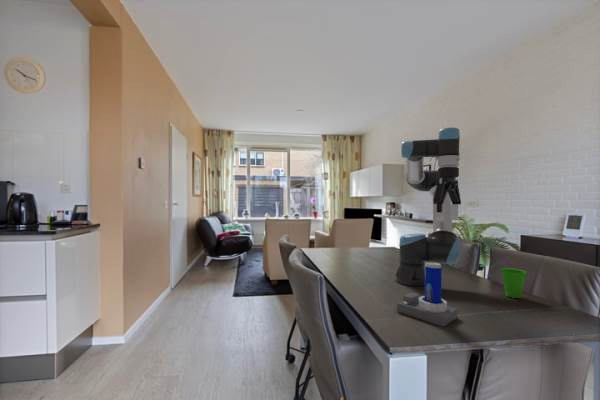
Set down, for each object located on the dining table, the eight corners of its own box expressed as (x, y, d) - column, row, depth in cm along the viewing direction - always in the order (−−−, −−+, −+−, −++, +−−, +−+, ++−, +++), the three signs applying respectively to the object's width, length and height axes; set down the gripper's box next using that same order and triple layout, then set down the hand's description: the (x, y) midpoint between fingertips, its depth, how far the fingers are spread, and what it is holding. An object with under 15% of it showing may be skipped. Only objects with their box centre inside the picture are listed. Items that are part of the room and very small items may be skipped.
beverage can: (421, 304, 102) (422, 262, 101) (435, 304, 102) (436, 261, 102) (429, 310, 96) (430, 265, 96) (444, 310, 97) (445, 265, 97)
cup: (531, 301, 116) (532, 273, 116) (506, 299, 118) (506, 272, 118) (519, 294, 125) (519, 268, 125) (495, 292, 127) (496, 267, 127)
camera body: (396, 311, 103) (397, 295, 103) (412, 304, 110) (412, 290, 110) (443, 326, 91) (443, 309, 91) (457, 317, 98) (457, 301, 98)
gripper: (444, 163, 105) (443, 222, 105) (470, 169, 121) (469, 220, 121) (424, 165, 111) (423, 221, 111) (451, 170, 127) (450, 219, 127)
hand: (447, 220), depth 116 cm, fingers open, 13 cm apart
